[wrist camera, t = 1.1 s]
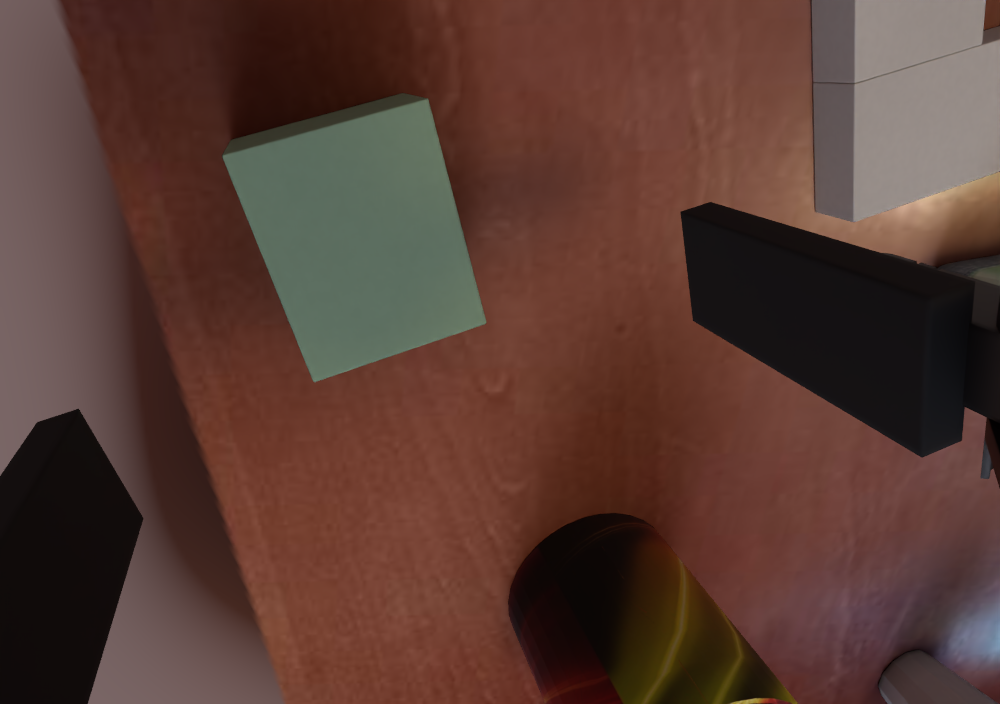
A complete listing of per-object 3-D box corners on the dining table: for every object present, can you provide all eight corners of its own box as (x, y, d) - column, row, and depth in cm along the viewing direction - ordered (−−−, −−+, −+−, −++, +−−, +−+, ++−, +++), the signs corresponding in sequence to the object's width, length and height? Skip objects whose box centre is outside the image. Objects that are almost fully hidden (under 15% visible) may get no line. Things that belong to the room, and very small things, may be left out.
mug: (619, 704, 42) (733, 917, 32) (471, 609, 36) (554, 837, 25) (732, 598, 42) (888, 780, 31) (603, 482, 35) (744, 661, 25)
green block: (230, 140, 24) (221, 155, 20) (404, 92, 25) (428, 97, 21) (308, 337, 28) (313, 382, 24) (458, 288, 29) (487, 323, 25)
